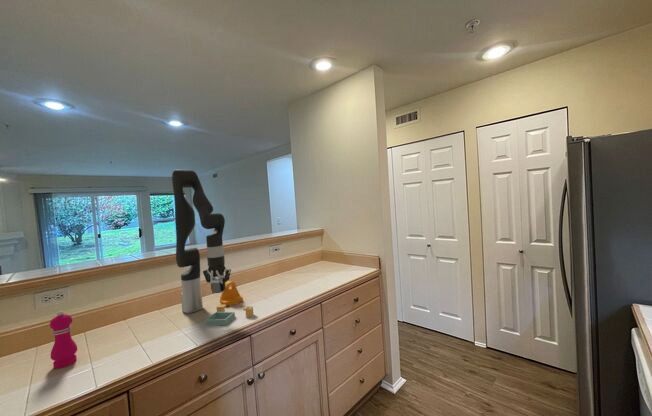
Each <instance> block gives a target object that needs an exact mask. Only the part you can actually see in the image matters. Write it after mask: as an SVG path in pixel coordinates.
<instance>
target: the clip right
mask: <svg viewBox="0 0 652 416" xmlns="http://www.w3.org/2000/svg"><path fill="white" fill-rule="evenodd" d="M243 311H244V312H245V318H251V317H253V316H254V306H245V307H244V308H243Z"/></svg>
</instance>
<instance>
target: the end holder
mask: <svg viewBox="0 0 652 416" xmlns="http://www.w3.org/2000/svg"><path fill="white" fill-rule="evenodd" d="M235 318H236V313H235V311H225V312H217V311H215V312H213V313H212V314H211V315H210V316H208V317H206V318H205V324H206V325H210V326H211V325H212V326H227V325H228V324H229V323H230V322H231V321H233V320H234V319H235Z"/></svg>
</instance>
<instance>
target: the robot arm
mask: <svg viewBox="0 0 652 416" xmlns="http://www.w3.org/2000/svg"><path fill="white" fill-rule="evenodd" d="M171 174H172V175H171V183H172V189H173V190H172V191H173V197H174V220H175V221H174V223H175V234H176V237H175V238H176V239H175V241H176V242H175V243H176V245H175V247H176V248H175V261H176V265H177V267H178V268H181V269H182V268H187V267H190V268H189V269H187V270H186V271H184V272H183V273H182V274H181V275H180V282H181V294H180V301H181V311H182V312H183V313H186V314H191V313H196V312H199V311H201V310H202V309H203V308H204V306H203V294H202V292H203V291H202V282H201V256H200V254H201V253H200V251H199V248H197V247H190V248H186V243H187V241H188V238H189V236H190V235H191V233H192V232H193V230H194V228H195V225H196V214H195V211H194V208H195V210H196V212H197V213H198V216H199V221H200V222H199V223H200V225H201V226H202V228H203V229H206V230H212V229H213V231H212V233H209V234H207V235H206V241H205V242H206V257H207V266H208V268H207V269H204V270H203V271H202V273H203V275H204V279H205V280H206V283H209V284H210V289H211V291H212V284H211V281H212V280H214V279H216V278H218V279H219V280H220V283H221V284H220V286H221V291H224V290H225V282H227V281H230V276H231V273H232V269H230V268H229V269H228V268H227V267H226V266H225V265H226V263H225V262H226V260H225V250H224V243H223V235H224V229H225V223H226V219H225V217H224V215H223V214H222V213H219V212H217V213H213V211H214V206H213V205H212V203H211V202H210V200H209V198H207V195H206V194H205V191H204V189H203V186H202V183H201V182H200V181H201V180H200V178H199V176H198V174H197V173H196V171H194V170H192V169H174V170H173V171H172V173H171ZM184 188H191V189H193V195H192V203H193V206H194V208H193V207H192V205H191V204H190V203H189V202H188V201H187V199H186V196H185V194H184V193H185V192H184Z"/></svg>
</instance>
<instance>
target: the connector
mask: <svg viewBox="0 0 652 416" xmlns="http://www.w3.org/2000/svg"><path fill="white" fill-rule="evenodd" d="M211 284H212V290H211V293H212V294H221V293H222V292H223V291H221V286H220V284H221V283H220V280H219V279H218V277H216V279H214V280H212V281H211ZM211 284H210V285H211Z"/></svg>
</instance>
